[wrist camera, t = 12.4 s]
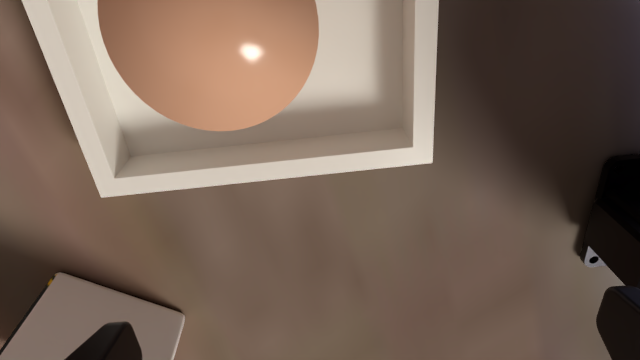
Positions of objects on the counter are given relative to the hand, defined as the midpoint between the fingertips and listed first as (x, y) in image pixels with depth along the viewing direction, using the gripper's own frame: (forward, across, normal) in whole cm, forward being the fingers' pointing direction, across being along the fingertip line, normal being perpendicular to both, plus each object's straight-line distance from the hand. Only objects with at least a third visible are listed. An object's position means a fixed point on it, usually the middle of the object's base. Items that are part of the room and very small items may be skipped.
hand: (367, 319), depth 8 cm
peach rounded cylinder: (+12, +3, -5) cm, 13 cm away
